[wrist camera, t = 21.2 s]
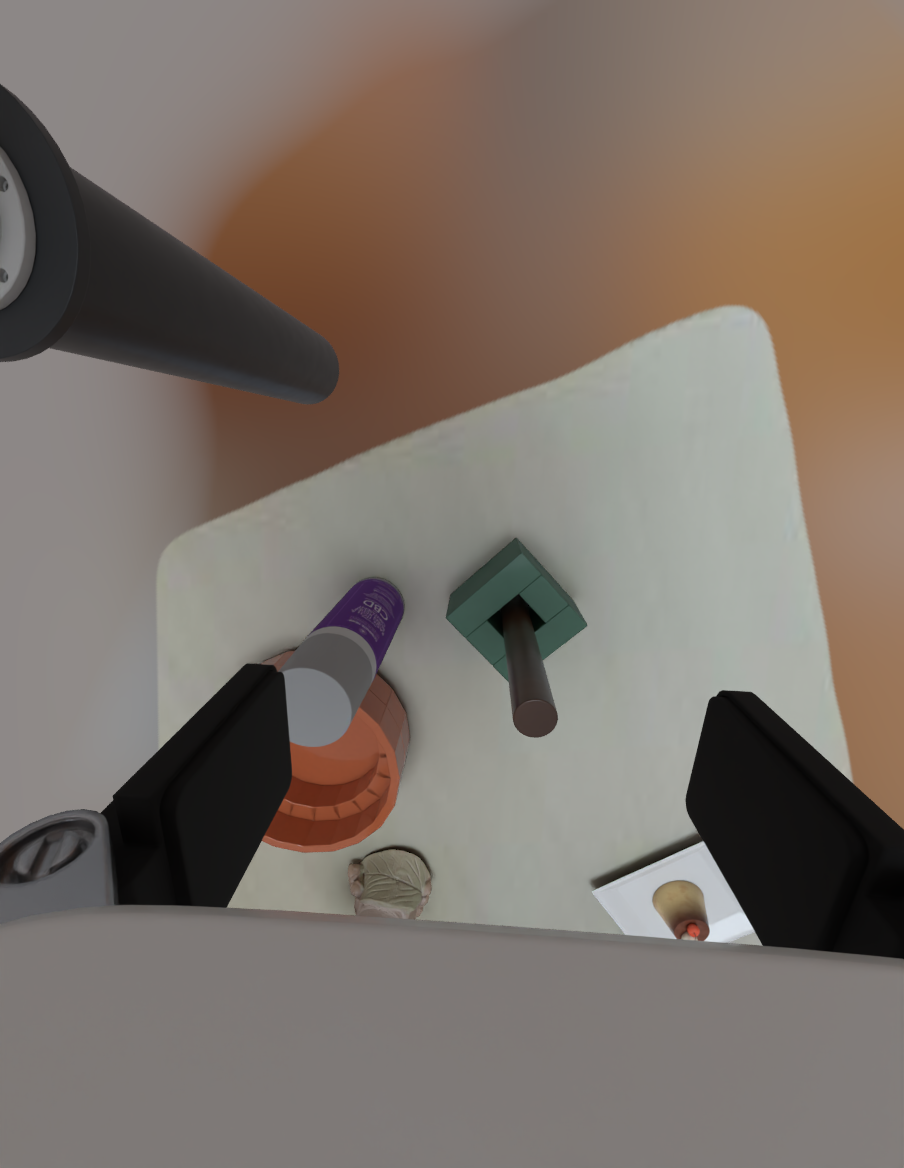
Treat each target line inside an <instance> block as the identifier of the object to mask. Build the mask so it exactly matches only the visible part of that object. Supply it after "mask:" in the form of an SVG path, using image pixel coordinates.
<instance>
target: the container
mask: <svg viewBox="0 0 904 1168" xmlns="http://www.w3.org/2000/svg"><path fill="white" fill-rule="evenodd" d="M403 613H404V600H403V597H402V595H401V593H400V591H399V590H398V589H397V588H396V586H394V585H393V584H392V583H390V582H389V581H387V580H385V579H381V578H375V577H372V578H366V579H363V580H361V581H359V582H357V583H356V584H355V585H354V586H353V587H352V588H351V589H350V590H349V591H348V592H347V593H346V594H345V596H344V597H343V598H342V599H341V600H340V601H339V602H338V603H337V604H336V605H335V607H334V608H333V609H332V610H331V611H330V612H329V613H328V614H327V615H326V616H325V618H324V619H323V620H322V621H321V622H320V623H319V624H318V625H317V626H316V627H315V628H314V630H313V631H312V632H311V633H310V634H309V635H308V636H307V637H306V638H305V640H304V641H303V642H302V643H301V645H300V646H299V647H298V648H297V649H296V651H295V652H294V653H293V654H292V656H291V657H290V658H289V659H288V660H287V662H286V663H285V664H284V665H283V666H282V668H281V669H280V670H279V671H278V672H282V673H283V674H284V678H285V689H286V702H287V714H288V726H289V738H290V742H292V743H295V744H298V745H301V746H306V747H320V746H325V745H328V744H331V743H333V742H335V741H337V740H338V739H339V738H341V737H342V736H343V735H344V734H345V732H346V731H347V729H348V727H349V726H350V724H351V722H352V720H353V718H354V716H355V714H356V712H357V710H358V708H359V706H360V704H361V702H362V701H363V699H364V697H365V695H366V693H367V691H368V689H369V687H370V685H371V683H372V682H373V680H374V678H375V676H376V673H377V671H378V669H379V667H380V665H381V663H382V660H383V658H384V656H385V654H386V652H387V649H388V647H389V645H390V643H391V641H392V639H393V636H394V634H395V632H396V630H397V628H398V625H399V623H400V621H401V619H402V616H403Z"/></svg>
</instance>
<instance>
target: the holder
mask: <svg viewBox="0 0 904 1168" xmlns="http://www.w3.org/2000/svg"><path fill="white" fill-rule="evenodd" d="M518 594H519V595H520V596H521V597H522V598H523V599H524V600H525V601H526V602H527V604H528V605H529V607H528V610H529V614H530V617H531V621H532V625H533V628H534V632H535V635H536V639H537V643H538V646H539V650H540V653H541V657H542V660H544V659H545V658H546V657H548V656H549V655H550V654H551V653H553V652H554V651H555V650H557V649H558V648H559V647H561V646H562V645H563V644H564V643H566V642H567V641H568V640H570V639H571V638H572V637H574V636H575V635H576V634H577V633H579V632H580V631H581V630H583V629H584V628H585V627H586V626H587V623H586V621H585V620H584V618H583V616H582V615H581V613H580V611H579V609H578V608H577V606H576V604H575V603H574V601H573V600H572V599H571V598H570V596H569V595H568V594H567V593H566V592H565V591H564V590H563V589H562V588H561V586H560V585H559V584H558V583H557V582H556V581H555V580H554V579H553V578H552V576H551V575H550V574H549V573H548V572H547V571H546V570H545V569H544V568H543V566H542V565H541V564H540V563H539V562H538V561H537V560H536V559H535V558H534V557H533V555H532V554H531V553H530V552H529V551H528V550H527V549H526V548H525V546H524V545H523V544H522V543H521V542H520V541H519V540H518V539H517V538H515V539H514V540H513V541H512V542H511V543H509V544H508V545H507V546H506V547H505V548H504V549H503V550H501V551H500V552H499V553H498V554H497V555H496V556H494V557H493V558H492V559H491V560H490V561H489V562H488V563H486V564H485V565H484V566H483V567H482V568H481V569H480V570H478V571H477V572H476V573H475V574H474V575H473V576H472V577H470V578H469V579H468V580H467V581H466V582H465V583H463V584H462V585H461V586H460V587H459V588H458V589H457V590H455V591H454V592H453V593H452V594H451V595H450V600H449V605H448V609H447V614H446V619H447V620H448V621H449V622H450V623H451V624H452V625H453V626H454V627H455V628H456V629H457V630H458V631H459V632H460V633H461V634H462V635H463V636H464V637H465V638H466V639H467V640H468V641H469V642H470V643H471V644H472V645H473V646H474V647H475V648H476V649H477V650H478V651H479V652H480V653H481V654H482V655H483V656H484V657H485V658H486V659H487V660H488V661H489V662H490V664H491V665H493V667H494V668H495V669H496V670H497V671H498V672H499V673H500V674H501V675H502V676H503V677H504V678H505V679H506V680H507V681H508V682H509V679H508V670H507V661H506V652H505V643H504V634H503V625H502V616H501V612H500V611H499V609H501V608H502V607H503V606H504V605H505V604H507V603H508V602H509V601H510V600H512V599H513V598H514V597H515V596H516V595H518Z"/></svg>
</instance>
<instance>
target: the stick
mask: <svg viewBox="0 0 904 1168" xmlns="http://www.w3.org/2000/svg"><path fill="white" fill-rule="evenodd" d="M501 616H502V625H503V634H504V643H505V652H506V661H507V670H508V679H509V688H510V697H511V706H512V715H513V722H514V725H515V727H516V728H517V730H518V731H519V732H520V733H522V734H523V735H525V736H528V737H542V736H545V735H547V734H549V733H550V732H551V731H552V730H553V729H554V728H555V726H556V724H557V720H558V715H557V711H556V707H555V704H554V700H553V697H552V693H551V689H550V686H549V682H548V679H547V675H546V671H545V668H544V664H543V661H542V657H541V653H540V650H539V646H538V643H537V639H536V635H535V632H534V628H533V625H532V621H531V617H530V614H529V610H528V607H527V603H526V601H525V600H524V599H523V598H522V597H521V596H520V595H519V594H518V595H516V596H515V597H514V598H513V599H512V600H510V601H509V602H508V603H507V604H505V605H504V606H503V607H502V608H501Z"/></svg>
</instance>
